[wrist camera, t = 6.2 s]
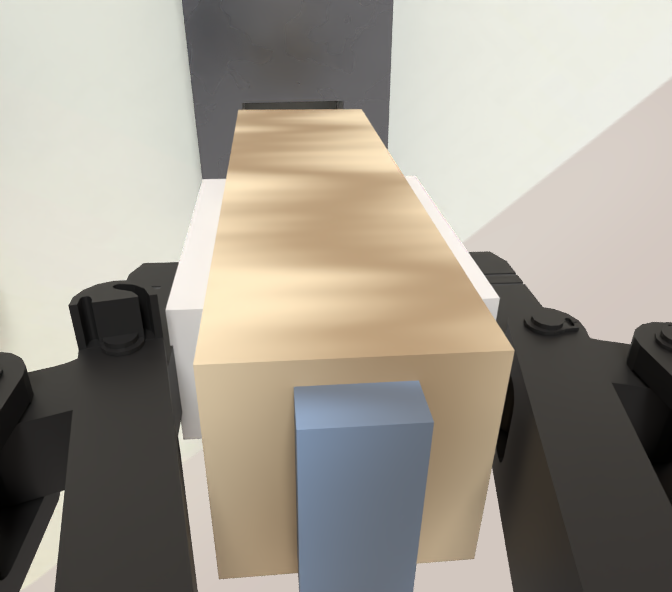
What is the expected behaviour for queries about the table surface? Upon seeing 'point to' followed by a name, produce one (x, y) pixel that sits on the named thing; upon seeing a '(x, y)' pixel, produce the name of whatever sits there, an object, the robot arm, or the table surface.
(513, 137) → the table surface
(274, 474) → the plug
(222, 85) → the panel
